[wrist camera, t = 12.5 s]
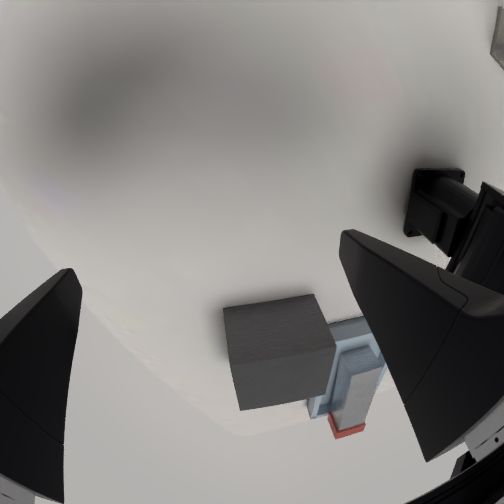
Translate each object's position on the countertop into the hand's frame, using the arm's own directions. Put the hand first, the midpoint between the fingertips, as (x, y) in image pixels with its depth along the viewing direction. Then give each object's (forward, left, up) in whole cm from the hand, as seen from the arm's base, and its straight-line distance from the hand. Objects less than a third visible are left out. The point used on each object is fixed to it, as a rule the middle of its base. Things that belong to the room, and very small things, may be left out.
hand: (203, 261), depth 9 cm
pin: (-14, +30, -10) cm, 35 cm away
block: (-4, +18, -12) cm, 22 cm away
